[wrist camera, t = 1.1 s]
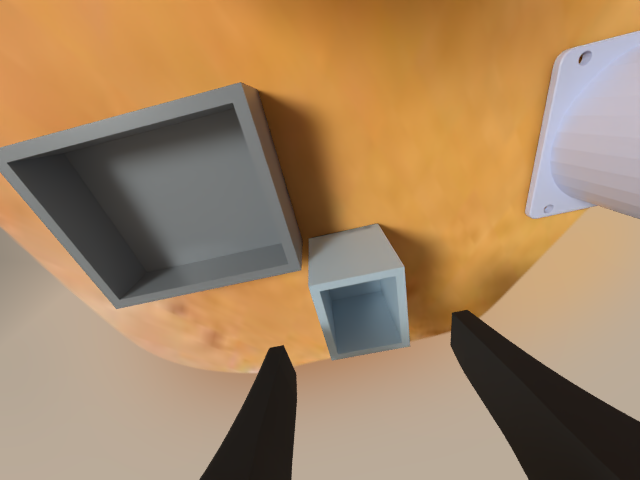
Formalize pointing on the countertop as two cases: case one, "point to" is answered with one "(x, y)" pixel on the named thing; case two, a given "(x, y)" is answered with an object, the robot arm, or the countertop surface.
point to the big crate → (164, 196)
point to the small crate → (358, 292)
